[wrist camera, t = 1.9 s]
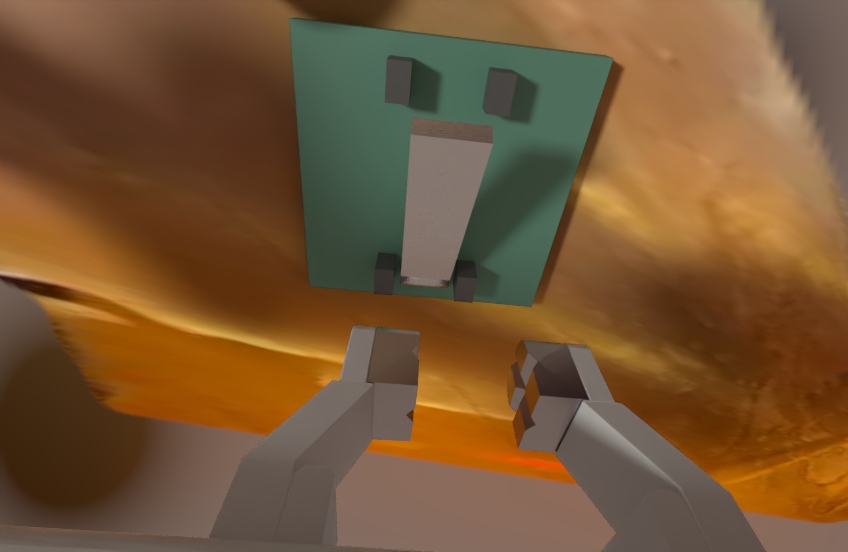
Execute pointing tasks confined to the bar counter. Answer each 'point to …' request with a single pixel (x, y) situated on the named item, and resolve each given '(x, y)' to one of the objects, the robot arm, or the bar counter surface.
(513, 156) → the board
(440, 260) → the steel strap
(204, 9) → the bar counter surface
